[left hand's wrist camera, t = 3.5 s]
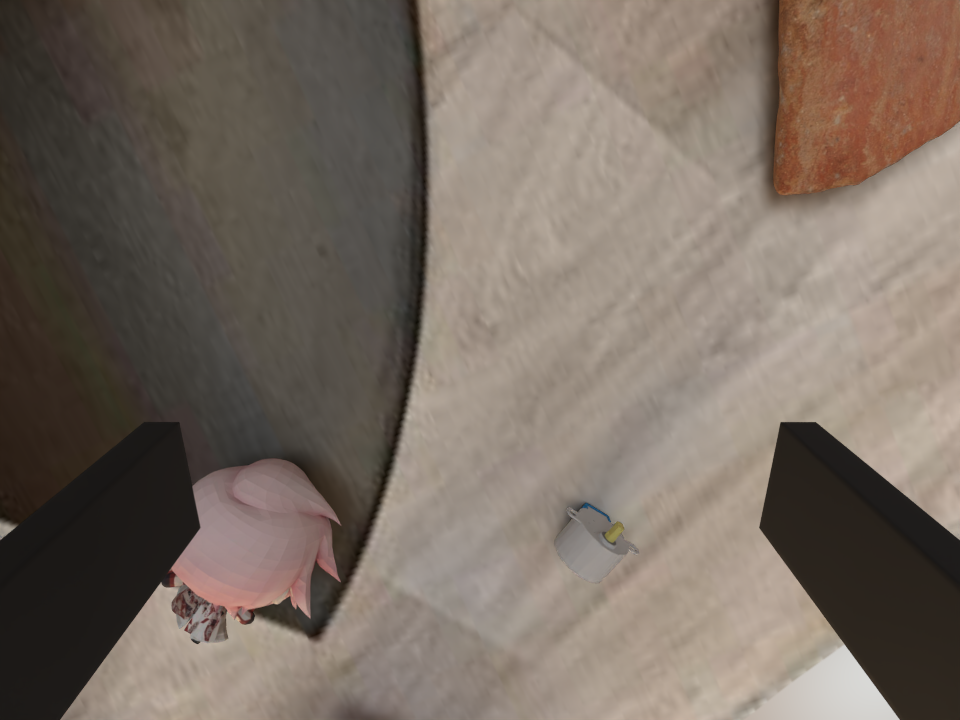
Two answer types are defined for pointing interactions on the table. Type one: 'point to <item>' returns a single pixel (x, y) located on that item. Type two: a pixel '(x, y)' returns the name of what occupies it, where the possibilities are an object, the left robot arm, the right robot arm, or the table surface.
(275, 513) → the toy
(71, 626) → the left robot arm
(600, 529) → the electric motor
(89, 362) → the table surface
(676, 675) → the table surface
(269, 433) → the table surface
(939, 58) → the ceramic shard
